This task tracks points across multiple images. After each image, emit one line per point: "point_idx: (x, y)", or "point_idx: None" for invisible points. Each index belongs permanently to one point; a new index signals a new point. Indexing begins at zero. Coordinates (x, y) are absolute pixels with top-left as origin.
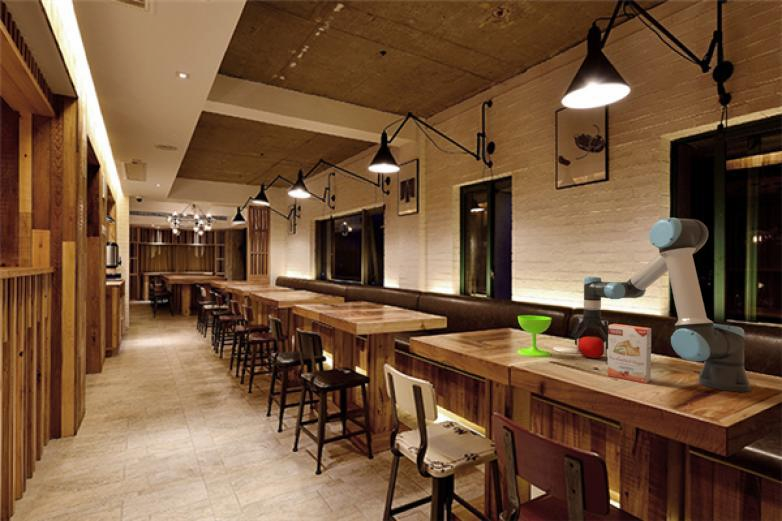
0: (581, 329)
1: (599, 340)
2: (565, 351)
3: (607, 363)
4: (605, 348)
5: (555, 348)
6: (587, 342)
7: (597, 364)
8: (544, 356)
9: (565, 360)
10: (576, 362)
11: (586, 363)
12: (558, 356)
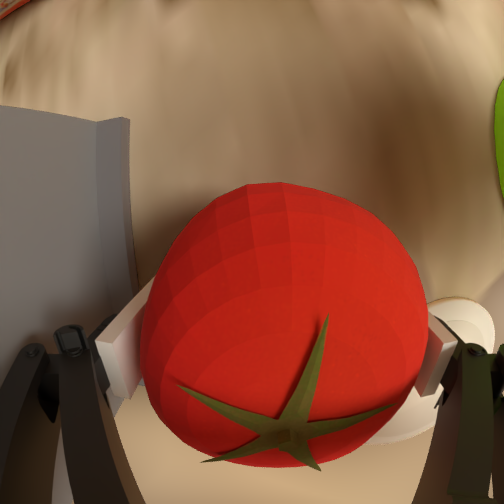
0: (484, 456)
1: (156, 356)
2: (452, 302)
3: (116, 120)
4: (128, 306)
5: (488, 335)
6: (317, 226)
7: (176, 69)
8: (500, 91)
9: (397, 51)
10: (320, 30)
11: (251, 42)
12: (466, 154)
